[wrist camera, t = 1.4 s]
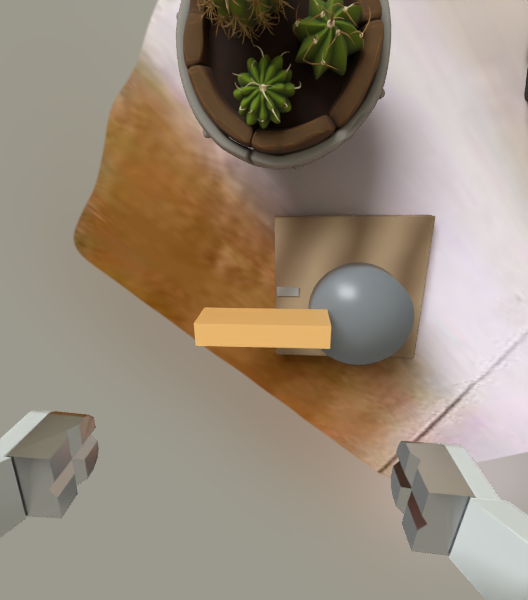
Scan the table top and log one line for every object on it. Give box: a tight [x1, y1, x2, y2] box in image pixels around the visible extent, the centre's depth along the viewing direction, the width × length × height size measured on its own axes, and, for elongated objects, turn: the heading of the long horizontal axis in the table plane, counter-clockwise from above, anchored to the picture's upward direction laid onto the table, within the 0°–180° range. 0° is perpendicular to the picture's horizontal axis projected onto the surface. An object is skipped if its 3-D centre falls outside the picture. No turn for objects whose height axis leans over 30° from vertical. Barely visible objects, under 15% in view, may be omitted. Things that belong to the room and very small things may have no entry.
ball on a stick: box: [194, 262, 414, 365], centre depth 30 cm, size 18×9×6 cm, turn 91°
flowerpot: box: [176, 0, 391, 170], centre depth 23 cm, size 14×15×20 cm
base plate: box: [275, 215, 435, 358], centre depth 38 cm, size 16×16×2 cm
